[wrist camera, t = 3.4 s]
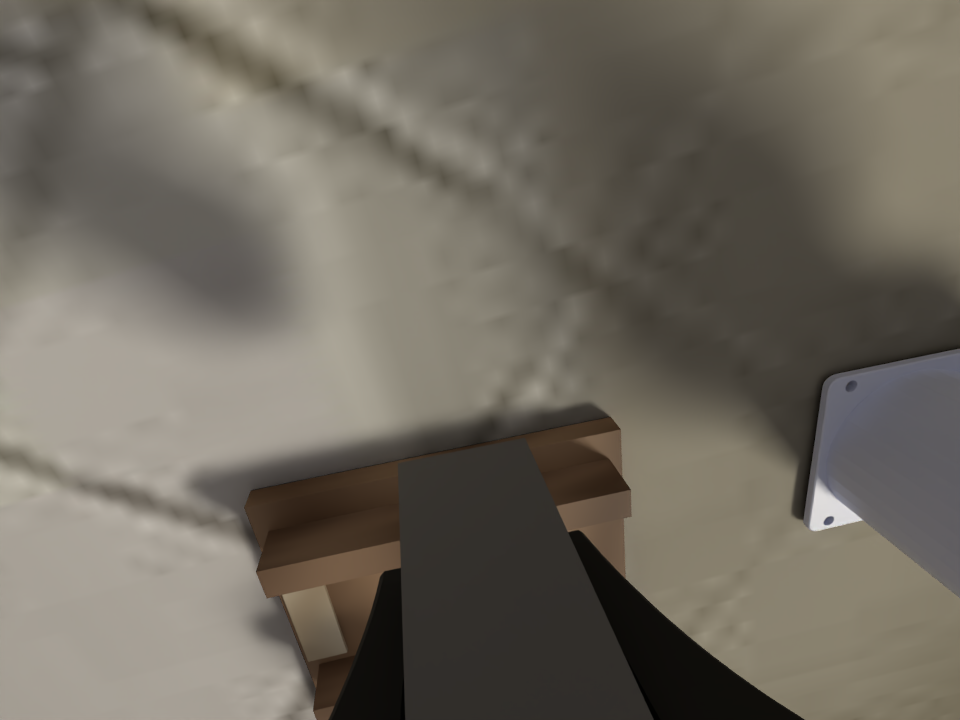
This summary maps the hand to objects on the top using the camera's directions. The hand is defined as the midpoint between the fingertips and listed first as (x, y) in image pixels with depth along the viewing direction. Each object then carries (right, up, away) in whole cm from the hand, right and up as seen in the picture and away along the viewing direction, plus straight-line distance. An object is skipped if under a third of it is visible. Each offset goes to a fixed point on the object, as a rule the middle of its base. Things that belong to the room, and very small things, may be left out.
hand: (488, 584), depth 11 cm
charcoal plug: (0, +1, +2) cm, 2 cm away
